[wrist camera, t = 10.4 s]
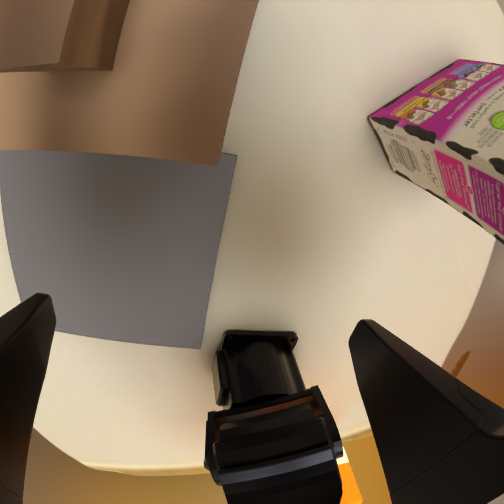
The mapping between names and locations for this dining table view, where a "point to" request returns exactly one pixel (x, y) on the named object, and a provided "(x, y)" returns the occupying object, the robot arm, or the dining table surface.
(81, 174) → the mat
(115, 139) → the walnut lid
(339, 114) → the dining table surface
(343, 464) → the orange juice
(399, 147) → the candy bar box
